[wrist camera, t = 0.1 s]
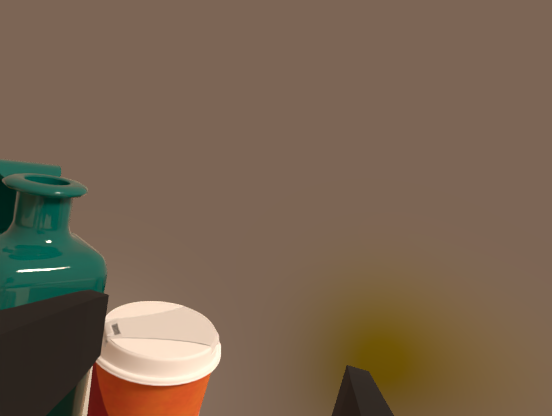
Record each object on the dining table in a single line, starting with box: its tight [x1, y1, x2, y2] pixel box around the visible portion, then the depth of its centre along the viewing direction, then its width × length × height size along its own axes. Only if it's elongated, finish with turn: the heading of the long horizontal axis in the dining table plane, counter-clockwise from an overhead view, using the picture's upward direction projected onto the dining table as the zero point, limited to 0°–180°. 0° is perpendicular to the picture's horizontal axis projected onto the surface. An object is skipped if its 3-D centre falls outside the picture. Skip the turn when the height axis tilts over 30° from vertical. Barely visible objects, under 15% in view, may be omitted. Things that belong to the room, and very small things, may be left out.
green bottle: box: [0, 159, 107, 416], centre depth 30 cm, size 10×8×22 cm
